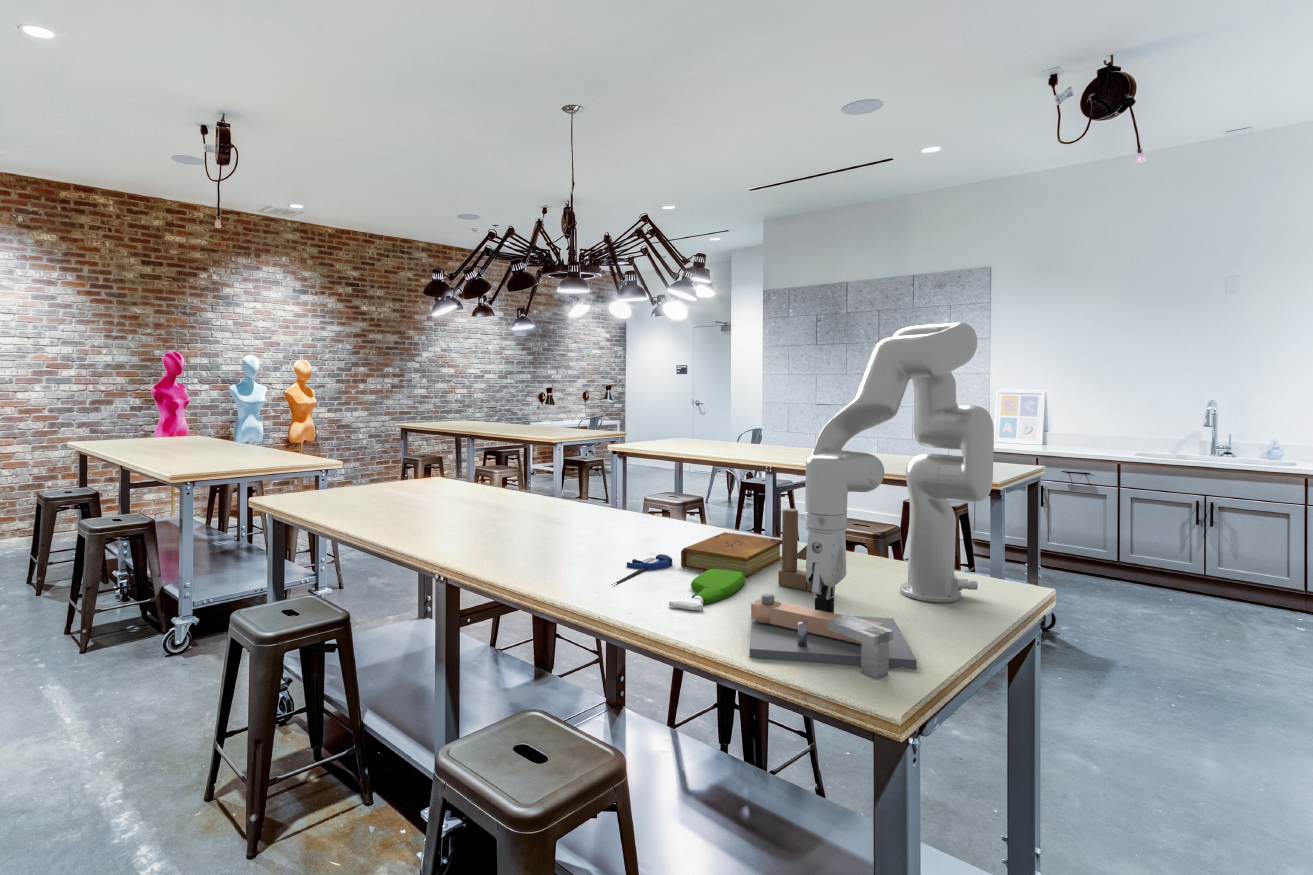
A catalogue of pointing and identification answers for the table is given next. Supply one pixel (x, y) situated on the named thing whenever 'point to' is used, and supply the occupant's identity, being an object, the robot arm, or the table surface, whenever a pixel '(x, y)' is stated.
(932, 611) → the table surface
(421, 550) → the table surface
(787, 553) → the wooden block
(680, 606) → the spray bottle
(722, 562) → the diary
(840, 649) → the base board
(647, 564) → the bar clamp
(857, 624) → the keeper
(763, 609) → the link
